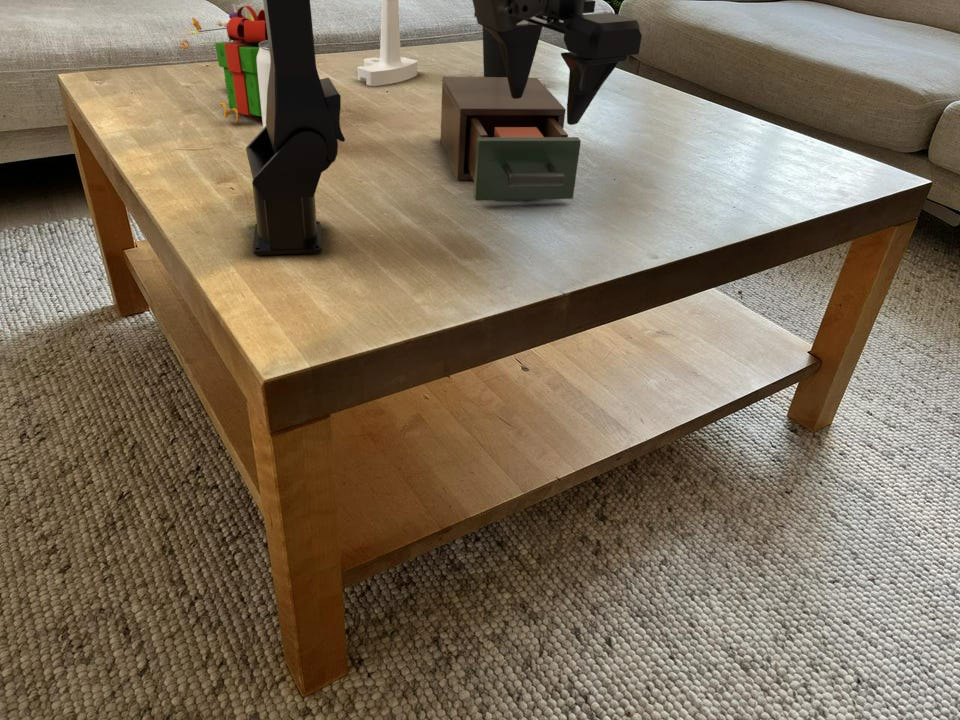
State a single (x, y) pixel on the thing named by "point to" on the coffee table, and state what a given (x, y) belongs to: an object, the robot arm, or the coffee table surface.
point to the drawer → (520, 159)
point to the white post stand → (388, 52)
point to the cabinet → (487, 110)
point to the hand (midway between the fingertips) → (543, 110)
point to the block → (517, 132)
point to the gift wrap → (241, 61)
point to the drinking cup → (492, 56)
